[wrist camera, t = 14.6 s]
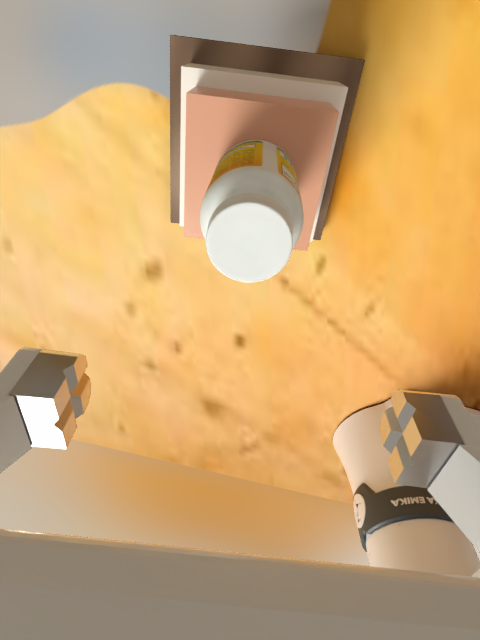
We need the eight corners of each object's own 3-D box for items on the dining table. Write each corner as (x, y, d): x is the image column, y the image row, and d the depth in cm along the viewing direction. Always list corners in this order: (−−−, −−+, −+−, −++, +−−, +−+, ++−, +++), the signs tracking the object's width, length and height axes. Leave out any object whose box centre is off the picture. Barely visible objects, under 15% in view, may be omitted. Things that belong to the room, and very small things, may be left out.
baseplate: (360, 59, 29) (364, 60, 28) (318, 233, 37) (320, 240, 36) (173, 35, 28) (170, 34, 27) (173, 216, 37) (170, 222, 36)
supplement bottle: (309, 156, 24) (331, 212, 16) (276, 231, 27) (281, 309, 19) (228, 123, 23) (211, 166, 15) (203, 205, 26) (178, 275, 19)
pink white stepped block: (338, 81, 28) (361, 94, 22) (307, 223, 35) (317, 264, 28) (190, 62, 28) (169, 70, 22) (187, 208, 35) (169, 247, 28)
